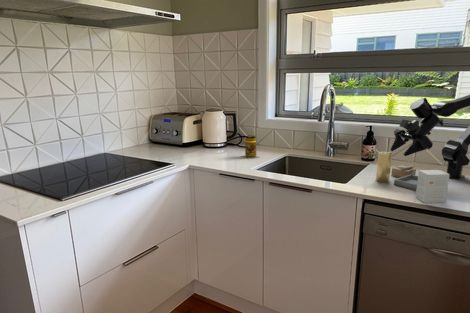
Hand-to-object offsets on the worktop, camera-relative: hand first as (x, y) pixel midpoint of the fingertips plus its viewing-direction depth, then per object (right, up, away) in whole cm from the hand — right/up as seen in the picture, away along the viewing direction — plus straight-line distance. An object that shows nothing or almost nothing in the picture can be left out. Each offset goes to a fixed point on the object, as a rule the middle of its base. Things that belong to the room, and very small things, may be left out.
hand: (397, 152), depth 141 cm
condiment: (-60, -2, +46) cm, 75 cm away
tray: (+5, -13, -5) cm, 15 cm away
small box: (+2, -17, -20) cm, 27 cm away
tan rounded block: (+6, -10, +8) cm, 15 cm away
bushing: (-5, -12, +2) cm, 13 cm away
